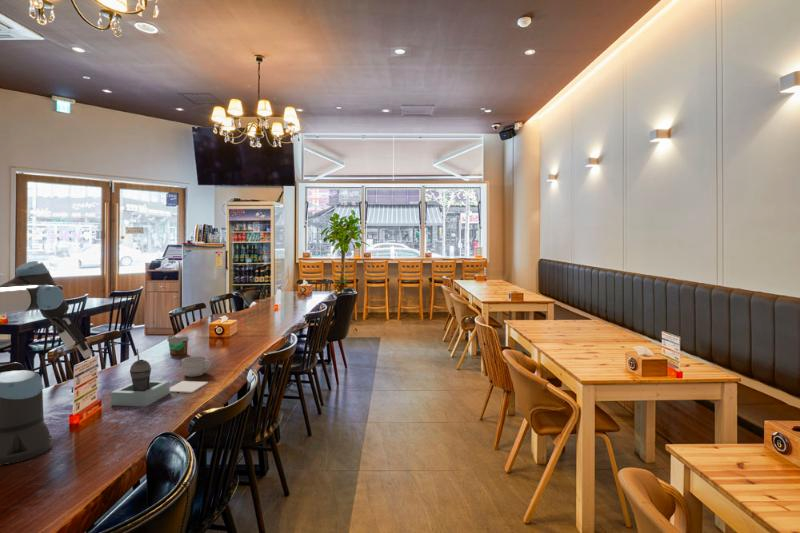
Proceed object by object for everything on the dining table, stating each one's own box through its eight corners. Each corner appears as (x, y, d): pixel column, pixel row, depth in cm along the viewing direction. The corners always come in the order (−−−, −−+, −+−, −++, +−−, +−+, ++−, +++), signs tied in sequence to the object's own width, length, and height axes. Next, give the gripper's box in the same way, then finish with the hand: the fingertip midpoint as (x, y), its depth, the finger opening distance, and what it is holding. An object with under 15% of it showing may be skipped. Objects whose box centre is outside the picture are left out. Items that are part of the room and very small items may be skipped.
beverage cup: (142, 403, 162) (140, 351, 161) (126, 401, 163) (124, 350, 162) (156, 396, 169) (154, 347, 168) (141, 395, 171) (139, 346, 169)
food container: (162, 355, 229) (161, 337, 229) (171, 352, 235) (170, 334, 235) (180, 357, 226) (179, 338, 225) (189, 354, 232) (188, 336, 231)
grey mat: (192, 393, 173) (191, 391, 173) (164, 392, 174) (164, 390, 174) (208, 383, 185) (208, 381, 185) (182, 382, 186) (182, 380, 186)
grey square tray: (145, 406, 159) (145, 393, 158) (111, 405, 160) (110, 392, 160) (169, 393, 173) (169, 381, 172) (137, 392, 174) (137, 380, 174)
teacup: (177, 376, 194) (176, 359, 194) (198, 370, 204) (197, 353, 203) (197, 381, 188) (196, 363, 187) (217, 374, 197) (217, 357, 197)
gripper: (79, 306, 142) (107, 354, 152) (47, 290, 155) (74, 336, 165) (55, 318, 137) (85, 367, 147) (24, 301, 149) (53, 347, 159)
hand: (79, 351), depth 156 cm, fingers open, 13 cm apart
